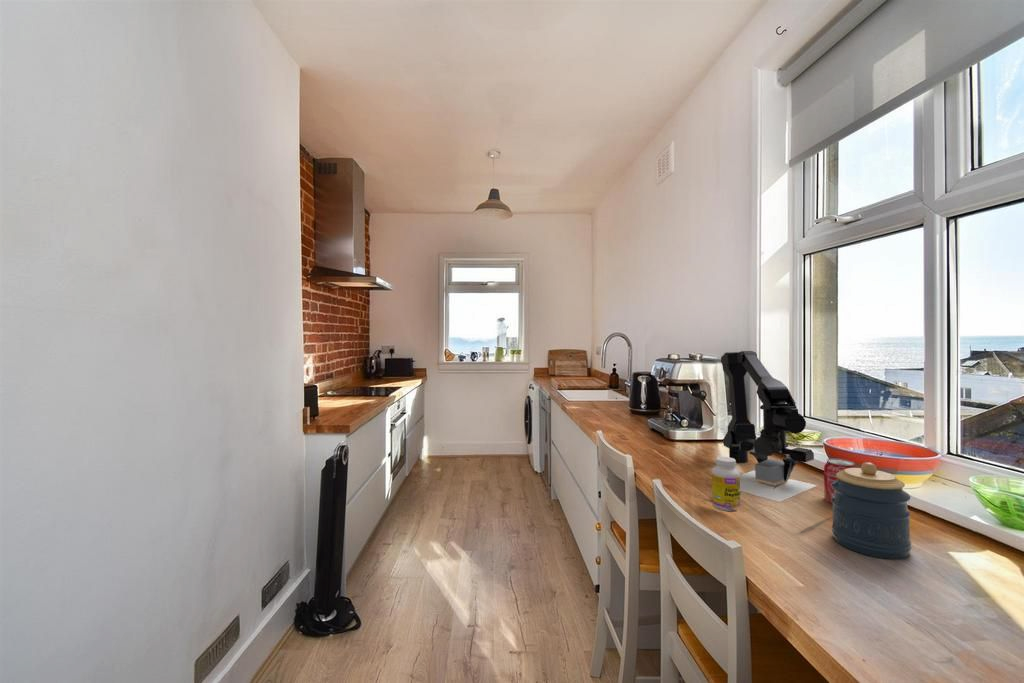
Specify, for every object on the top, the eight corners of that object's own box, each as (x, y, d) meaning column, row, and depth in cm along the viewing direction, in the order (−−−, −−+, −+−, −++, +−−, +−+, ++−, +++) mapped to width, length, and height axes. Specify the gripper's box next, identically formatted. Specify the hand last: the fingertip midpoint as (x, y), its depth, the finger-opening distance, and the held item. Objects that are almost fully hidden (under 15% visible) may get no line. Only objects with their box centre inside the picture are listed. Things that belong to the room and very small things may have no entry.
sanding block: (770, 474, 133) (770, 458, 133) (790, 478, 129) (789, 462, 129) (755, 481, 128) (755, 464, 128) (775, 485, 124) (774, 468, 124)
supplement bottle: (723, 513, 110) (722, 463, 110) (706, 504, 116) (706, 456, 116) (746, 511, 111) (745, 461, 111) (728, 501, 117) (728, 454, 117)
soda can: (846, 502, 115) (845, 457, 115) (865, 513, 108) (864, 465, 108) (818, 502, 116) (817, 457, 116) (835, 512, 109) (834, 465, 109)
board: (754, 474, 140) (754, 470, 140) (817, 490, 125) (817, 485, 125) (714, 488, 128) (714, 483, 128) (779, 507, 113) (779, 501, 113)
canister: (880, 564, 84) (879, 474, 84) (817, 536, 96) (816, 457, 96) (927, 555, 87) (926, 468, 87) (861, 528, 100) (859, 452, 100)
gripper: (729, 425, 133) (730, 475, 133) (795, 435, 117) (796, 492, 117) (748, 420, 139) (749, 469, 139) (814, 430, 123) (815, 484, 123)
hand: (775, 478), depth 129 cm, fingers closed on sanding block, 5 cm apart
